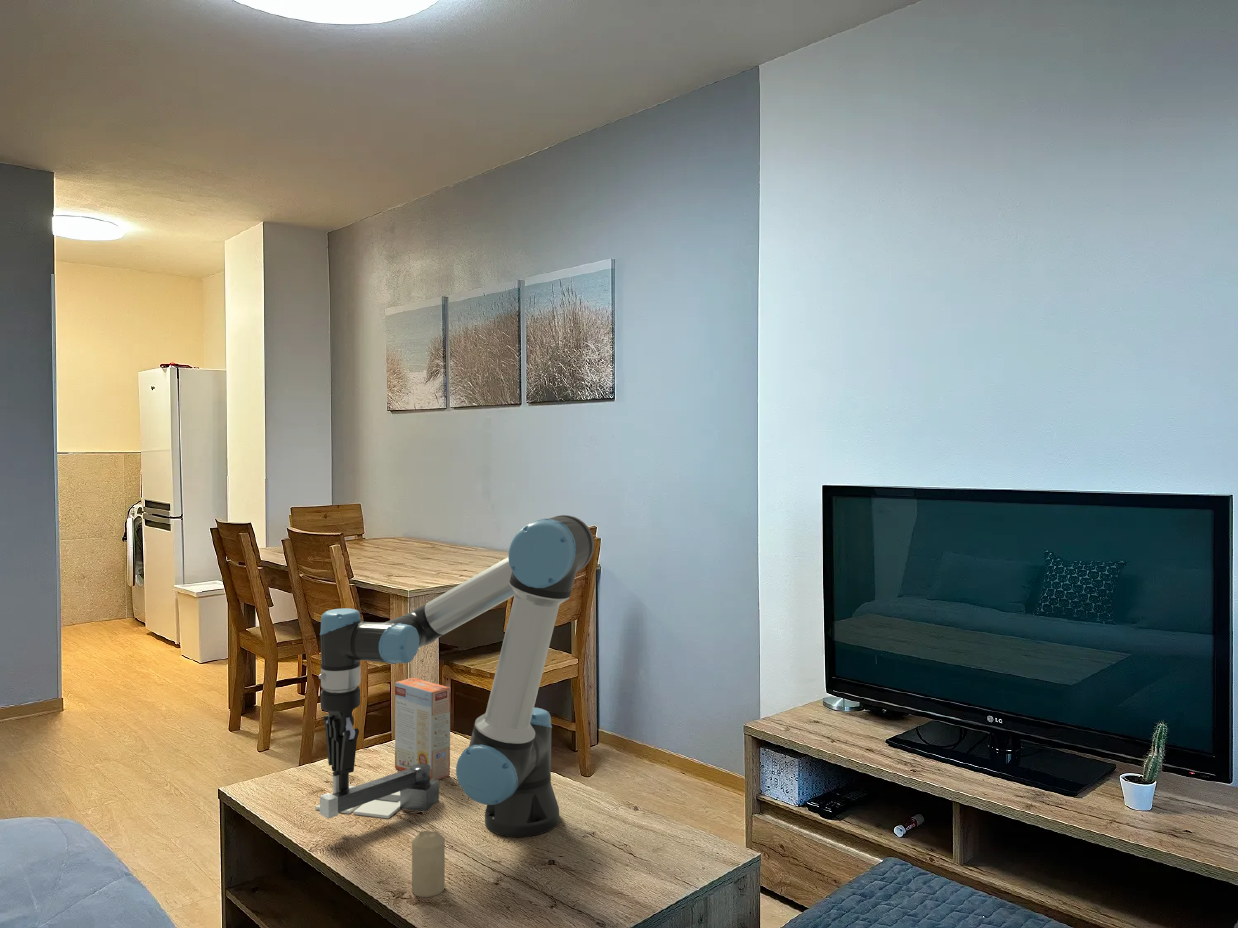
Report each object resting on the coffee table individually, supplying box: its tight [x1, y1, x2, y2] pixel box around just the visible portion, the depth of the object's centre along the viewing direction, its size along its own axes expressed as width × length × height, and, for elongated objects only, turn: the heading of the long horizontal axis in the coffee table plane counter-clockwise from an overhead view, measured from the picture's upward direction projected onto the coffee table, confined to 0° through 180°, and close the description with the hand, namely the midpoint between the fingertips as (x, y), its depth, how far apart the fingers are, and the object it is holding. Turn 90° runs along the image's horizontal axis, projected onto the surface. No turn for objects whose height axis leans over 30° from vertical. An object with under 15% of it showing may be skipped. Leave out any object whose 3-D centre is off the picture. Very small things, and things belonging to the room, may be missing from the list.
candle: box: [411, 830, 446, 898], centre depth 152 cm, size 6×6×10 cm
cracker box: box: [394, 677, 451, 780], centre depth 206 cm, size 14×6×21 cm, turn 50°
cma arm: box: [319, 764, 430, 820], centre depth 180 cm, size 25×4×4 cm, turn 139°
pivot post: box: [399, 779, 440, 813], centre depth 187 cm, size 6×6×4 cm
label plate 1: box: [314, 785, 361, 814], centre depth 189 cm, size 8×12×1 cm, turn 166°
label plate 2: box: [353, 791, 401, 819], centre depth 187 cm, size 8×12×1 cm, turn 166°
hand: (341, 804), depth 175 cm, fingers closed
